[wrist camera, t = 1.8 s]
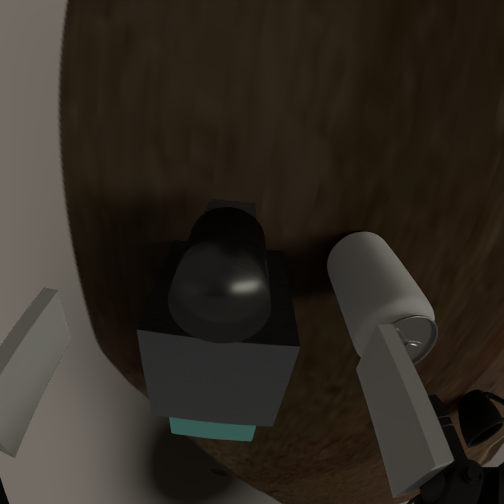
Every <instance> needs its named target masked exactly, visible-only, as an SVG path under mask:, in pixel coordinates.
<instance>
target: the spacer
mask: <svg viewBox="0 0 504 504" xmlns="http://www.w3.org/2000/svg"><path fill="white" fill-rule="evenodd" d="M169 419H170V425H171V432H172V433H174V434H181V435H189V436H197V437H205V438H215V439H226V440H241V441H252V438H253V435H254V431H255V428H256V426H251V425H235V424H223V423H212V422H203V421H194V420H187V419H179V418H173V417H169Z"/></svg>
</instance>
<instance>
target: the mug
mask: <svg viewBox="0 0 504 504" xmlns="http://www.w3.org/2000/svg"><path fill="white" fill-rule="evenodd" d="M490 399H493V400H495V401H497V402H499V403H501V404H502V405H504V399H502V398H500V397H498V396H496V395H495V394H492V393H489V392H483V393H482V392H481V391H480V390H474V391H472V392H470V393H468V394H467V395H465V396H464V397H463V398H462V399H461V400H460V401H459V402H458V404H457V407H458V415H459V422H460V427H461V431H462V435H463V437H464V440H465V442H466V445H467V447H469V448H470V447H474V446H477V445H479V444H481V443H483V442H484V441H486V440H488V439H489V438H490V437H492V436H493V435H494V434H496V433H497V432H498V431H499V430H500V429H501V428H502V426H503V425H504V418H502V417H501V415H500V413H499V411H498V409H497V408H496V407H495V405H494V404H493V403H492V402H491V401H490Z"/></svg>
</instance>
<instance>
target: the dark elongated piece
mask: <svg viewBox="0 0 504 504" xmlns="http://www.w3.org/2000/svg"><path fill="white" fill-rule="evenodd" d="M168 306H169V310H170V313H171V315H172V317H173V318H174V320H175V321H176V323H177V324H178V325H179V326H180V327H181V328H182V329H183V330H184V331H186V332H187V333H189V334H190V335H192V336H194V337H196V338H198V339H201V340H204V341H207V342H212V343H234V342H238V341H242V340H244V339H247V338H249V337H251V336H253V335H254V334H256V333H257V332H258V331H259V330H260V329H261V328H262V327H263V326H264V325H265V323H266V322H267V320H268V318H269V315H270V311H271V299H270V287H269V276H268V265H267V254H266V244H265V235H264V232H263V229H262V227H261V225H260V224H259V222H258V221H257V220H256V204H255V203H248V202H239V201H230V200H220V199H209V201H208V204H207V207H206V210H205V213H204V214H203V215H202V216H201V217H200V218H199V219H198V220H197V221H196V222H195V224H194V226H193V228H192V230H191V233H190V236H189V238H188V241H187V243H186V246H185V249H184V251H183V254H182V257H181V259H180V262H179V265H178V268H177V270H176V273H175V276H174V279H173V281H172V284H171V287H170V290H169V294H168ZM203 438H205V437H203ZM213 439H215V438H213ZM224 440H225V439H224Z"/></svg>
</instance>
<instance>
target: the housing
mask: <svg viewBox="0 0 504 504" xmlns="http://www.w3.org/2000/svg"><path fill="white" fill-rule="evenodd" d="M186 243H187V242H186V241H177V240H175V241H174V243H173V245H172V247H171V249H170V252H169V254H168V256H167V258H166V261H165V263H164V265H163V267H162V270H161V272H160V274H159V277H158V279H157V281H156V284H155V286H154V288H153V291H152V293H151V295H150V298H149V300H148V303H147V305H146V308H145V310H144V312H143V315H142V317H141V320H140V322H139V325H138V327H137V335H138V342H139V348H140V354H141V360H142V365H143V371H144V376H145V381H146V386H147V391H148V396H149V401H150V405H151V410H152V414H154V415H160V416H166V417H173V418H179V419H187V420H194V421H203V422H212V423H223V424H235V425H251V426H273V424H274V421H275V418H276V416H277V413H278V410H279V407H280V405H281V402H282V399H283V396H284V393H285V390H286V388H287V385H288V382H289V379H290V376H291V373H292V370H293V367H294V364H295V361H296V358H297V355H298V352H299V349H300V343H299V337H298V331H297V325H296V319H295V313H294V308H293V302H292V296H291V291H290V285H289V280H288V274H287V269H286V264H285V258H284V253H283V252H280V251H271V250H266V254H267V265H268V276H269V287H270V299H271V311H270V315H269V318H268V320H267V322H266V323H265V325H264V326H263V327H262V328H261V329H260V330H259V331H258V332H257V333H256V334H254V335H253V336H251V337H249V338H247V339H244V340H242V341H238V342H234V343H212V342H207V341H204V340H201V339H198V338H196V337H194V336H192V335H190V334H189V333H187V332H186V331H184V330H183V329H182V328H181V327H180V326H179V325H178V324H177V323H176V321H175V320H174V318H173V317H172V315H171V313H170V310H169V306H168V294H169V290H170V287H171V284H172V281H173V279H174V276H175V273H176V270H177V268H178V265H179V262H180V259H181V257H182V254H183V251H184V249H185V246H186Z"/></svg>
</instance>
